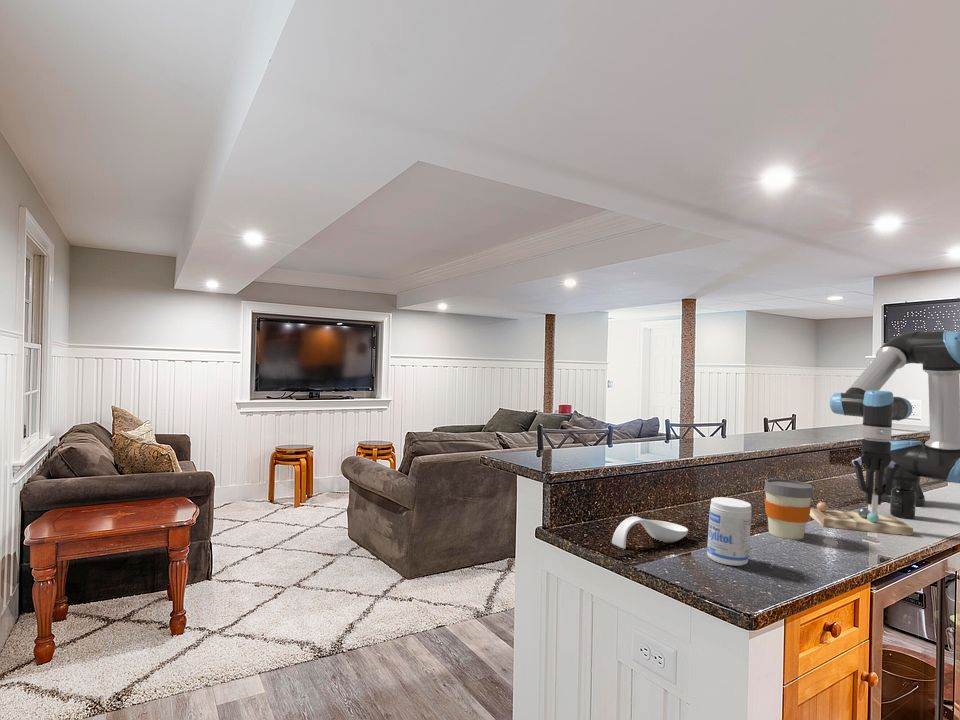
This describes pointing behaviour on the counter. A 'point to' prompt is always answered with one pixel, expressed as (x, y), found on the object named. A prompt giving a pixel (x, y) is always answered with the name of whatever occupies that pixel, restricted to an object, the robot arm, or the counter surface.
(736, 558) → the supplement tub
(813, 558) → the counter surface
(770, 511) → the reusable coffee cup
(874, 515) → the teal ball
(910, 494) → the supplement bottle
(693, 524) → the counter surface
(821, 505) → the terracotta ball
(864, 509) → the steel ball
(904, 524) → the maple board
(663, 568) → the counter surface
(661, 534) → the spoon rest
